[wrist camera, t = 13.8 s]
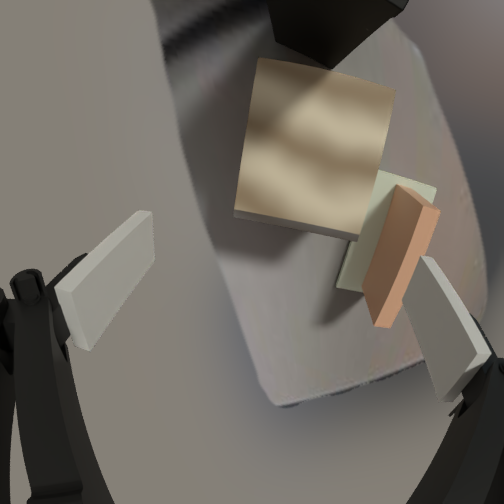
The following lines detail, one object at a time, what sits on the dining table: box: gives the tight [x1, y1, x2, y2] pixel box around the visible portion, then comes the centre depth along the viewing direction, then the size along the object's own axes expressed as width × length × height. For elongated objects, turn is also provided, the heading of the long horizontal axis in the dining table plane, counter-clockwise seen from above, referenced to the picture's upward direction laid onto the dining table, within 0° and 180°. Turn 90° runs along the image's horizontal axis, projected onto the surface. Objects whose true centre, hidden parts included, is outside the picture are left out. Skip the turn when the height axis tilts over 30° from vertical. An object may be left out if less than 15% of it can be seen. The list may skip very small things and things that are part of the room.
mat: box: [336, 170, 437, 292], centre depth 39 cm, size 18×10×1 cm, turn 171°
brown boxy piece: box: [233, 57, 396, 242], centre depth 30 cm, size 15×12×12 cm
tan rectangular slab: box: [361, 184, 441, 328], centre depth 35 cm, size 16×2×9 cm, turn 171°
